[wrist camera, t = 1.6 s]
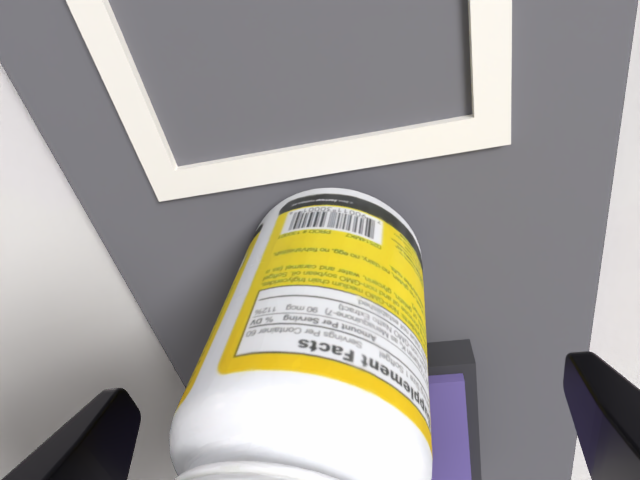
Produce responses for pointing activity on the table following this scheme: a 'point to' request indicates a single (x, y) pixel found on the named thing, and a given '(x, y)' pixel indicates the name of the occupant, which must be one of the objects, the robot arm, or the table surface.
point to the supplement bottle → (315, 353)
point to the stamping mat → (355, 170)
